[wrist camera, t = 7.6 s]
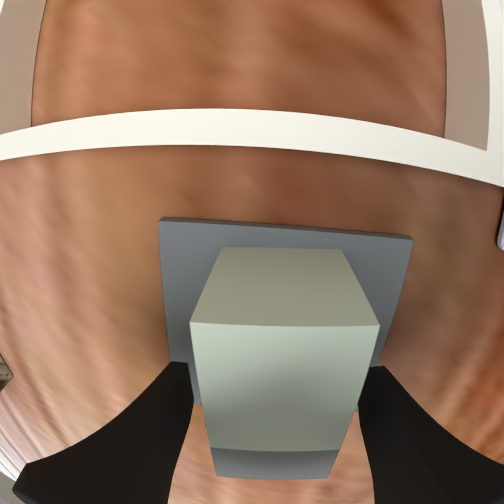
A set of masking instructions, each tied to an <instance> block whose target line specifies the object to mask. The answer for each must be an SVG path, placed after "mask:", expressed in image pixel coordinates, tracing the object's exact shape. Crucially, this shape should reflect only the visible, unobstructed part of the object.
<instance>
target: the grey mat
mask: <svg viewBox="0 0 504 504" xmlns="http://www.w3.org/2000/svg"><path fill="white" fill-rule="evenodd" d="M158 230H159V248H160V264H161V277H162V289H163V299H164V309H165V319H166V328H167V336H168V344H169V352H170V359H171V361H177V362H186V363H188V366H189V372H190V378H191V384H192V389H193V395H194V403H199V404H202V402H201V396H200V390H199V384H198V378H197V372H196V365H195V358H194V352H193V345H192V338H191V330H190V320H191V317H192V315H193V313H194V310H195V308H196V305H197V303H198V301H199V298H200V296H201V294H202V291H203V289H204V287H205V284H206V282H207V280H208V277H209V275H210V273H211V271H212V268H213V266H214V264H215V261H216V259H217V257H218V255H219V252H220V250H221V248H222V247H263V248H307V249H341V250H342V252H343V253H344V255H345V257H346V259H347V261H348V263H349V265H350V267H351V268H352V270H353V272H354V274H355V276H356V278H357V280H358V282H359V284H360V286H361V288H362V290H363V292H364V294H365V296H366V298H367V300H368V302H369V304H370V306H371V308H372V310H373V312H374V314H375V316H376V318H377V320H378V322H379V324H380V327H379V331H378V335H377V339H376V343H375V347H374V350H373V354H372V357H371V361H370V364H369V367H375V366H377V364H378V361H379V358H380V356H381V353H382V350H383V347H384V344H385V342H386V339H387V336H388V333H389V330H390V327H391V323H392V320H393V317H394V314H395V311H396V307H397V304H398V301H399V297H400V294H401V290H402V286H403V283H404V279H405V275H406V271H407V267H408V263H409V259H410V255H411V250H412V246H413V241H414V240H413V239H412V238H411V237H409V236H403V235H393V234H383V233H373V232H362V231H351V230H340V229H329V228H317V227H305V226H292V225H279V224H265V223H251V222H235V221H219V220H202V219H184V218H164V217H162V218H161V219H160V220H159V221H158ZM368 370H369V368H368ZM367 373H368V371H367ZM366 376H367V374H366ZM365 379H366V377H365ZM364 382H365V381H364ZM363 385H364V384H363ZM362 388H363V387H362ZM361 391H362V390H361ZM360 394H361V393H360ZM359 397H360V396H359ZM358 400H359V399H358ZM355 411H358V402H357V405H356V408H355Z"/></svg>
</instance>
